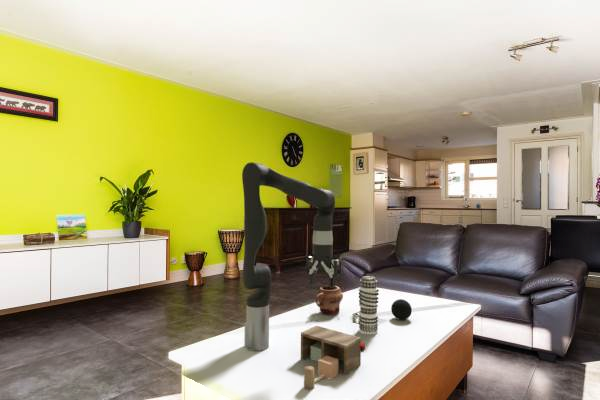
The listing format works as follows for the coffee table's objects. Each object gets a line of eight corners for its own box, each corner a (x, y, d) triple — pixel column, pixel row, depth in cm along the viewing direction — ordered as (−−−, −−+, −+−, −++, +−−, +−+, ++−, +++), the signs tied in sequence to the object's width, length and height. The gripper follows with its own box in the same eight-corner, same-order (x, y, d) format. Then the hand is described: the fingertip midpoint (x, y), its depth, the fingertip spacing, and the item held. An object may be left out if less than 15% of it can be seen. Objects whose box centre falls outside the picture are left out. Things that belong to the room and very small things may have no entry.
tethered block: (299, 386, 116) (300, 367, 116) (326, 369, 128) (326, 352, 128) (312, 391, 113) (312, 372, 113) (338, 373, 125) (338, 356, 125)
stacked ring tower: (378, 335, 161) (379, 279, 161) (357, 333, 163) (358, 278, 163) (378, 328, 170) (378, 275, 170) (358, 327, 172) (359, 274, 172)
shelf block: (310, 359, 137) (310, 346, 137) (318, 354, 140) (318, 342, 141) (321, 362, 133) (321, 349, 134) (328, 358, 137) (328, 345, 137)
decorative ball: (407, 324, 177) (407, 303, 177) (388, 319, 183) (388, 300, 183) (414, 318, 185) (414, 299, 185) (395, 314, 191) (395, 296, 191)
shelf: (300, 359, 136) (300, 332, 136) (316, 350, 144) (316, 325, 144) (346, 375, 124) (346, 346, 124) (360, 365, 132) (360, 337, 132)
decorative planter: (326, 320, 181) (327, 293, 181) (307, 315, 188) (307, 289, 188) (348, 311, 196) (348, 285, 196) (329, 307, 204) (329, 282, 204)
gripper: (301, 242, 137) (301, 284, 137) (333, 245, 128) (332, 290, 128) (313, 240, 143) (313, 281, 143) (344, 243, 134) (343, 286, 134)
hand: (322, 285), depth 135 cm, fingers open, 8 cm apart
